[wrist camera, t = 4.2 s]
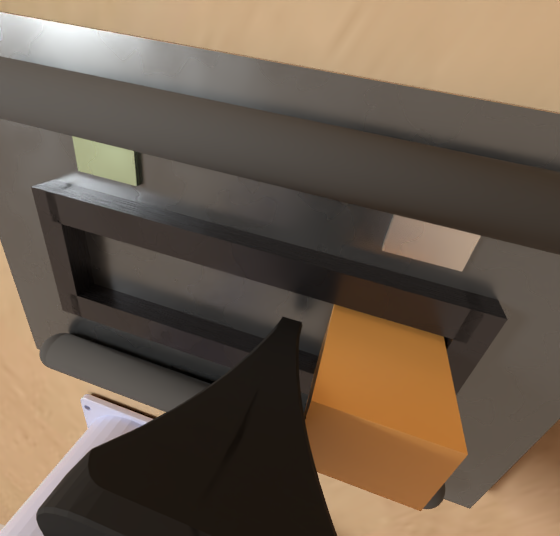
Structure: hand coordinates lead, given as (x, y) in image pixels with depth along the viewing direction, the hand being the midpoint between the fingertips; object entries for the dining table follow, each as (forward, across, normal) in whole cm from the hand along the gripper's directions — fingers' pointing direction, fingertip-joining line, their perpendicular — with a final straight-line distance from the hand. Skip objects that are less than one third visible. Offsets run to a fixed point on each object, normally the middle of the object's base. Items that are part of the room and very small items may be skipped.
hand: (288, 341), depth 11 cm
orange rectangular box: (+2, -3, 0) cm, 3 cm away
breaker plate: (+3, +2, 0) cm, 4 cm away
